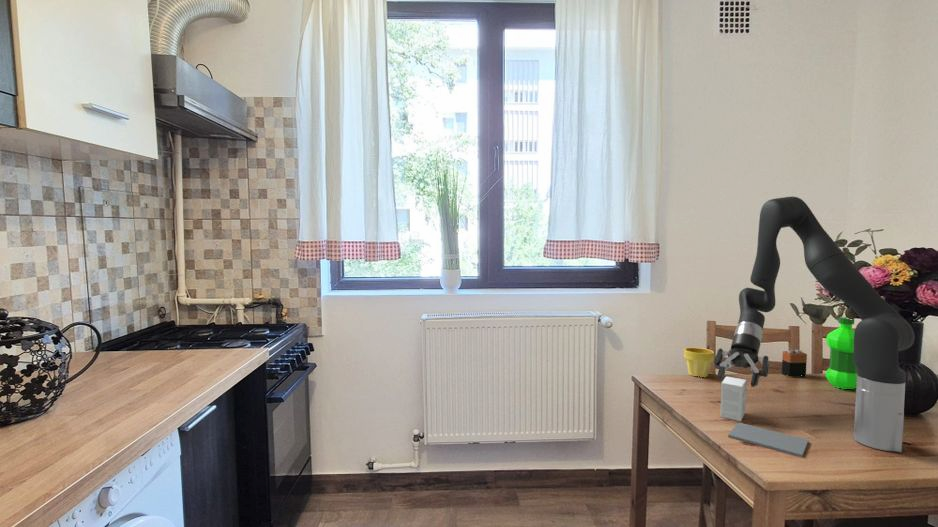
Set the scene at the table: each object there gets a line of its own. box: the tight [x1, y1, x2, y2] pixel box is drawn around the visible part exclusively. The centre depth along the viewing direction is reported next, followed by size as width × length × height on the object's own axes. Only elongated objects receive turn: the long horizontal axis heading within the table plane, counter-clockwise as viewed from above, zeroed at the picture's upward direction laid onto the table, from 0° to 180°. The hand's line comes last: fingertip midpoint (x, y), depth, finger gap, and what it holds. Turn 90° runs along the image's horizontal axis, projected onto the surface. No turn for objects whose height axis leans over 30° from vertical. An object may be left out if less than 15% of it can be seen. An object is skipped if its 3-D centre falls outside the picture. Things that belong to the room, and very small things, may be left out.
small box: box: [719, 376, 747, 422], centre depth 134 cm, size 8×6×10 cm
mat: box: [727, 422, 809, 458], centre depth 118 cm, size 16×11×1 cm
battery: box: [781, 349, 808, 377], centre depth 172 cm, size 4×7×10 cm, turn 93°
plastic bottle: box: [825, 316, 857, 390], centre depth 158 cm, size 10×10×25 cm
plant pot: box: [683, 346, 715, 378], centre depth 173 cm, size 10×10×10 cm
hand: (736, 382), depth 136 cm, fingers open, 8 cm apart
